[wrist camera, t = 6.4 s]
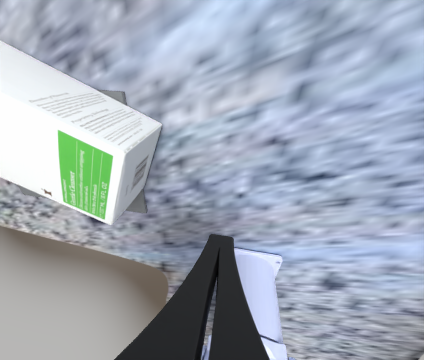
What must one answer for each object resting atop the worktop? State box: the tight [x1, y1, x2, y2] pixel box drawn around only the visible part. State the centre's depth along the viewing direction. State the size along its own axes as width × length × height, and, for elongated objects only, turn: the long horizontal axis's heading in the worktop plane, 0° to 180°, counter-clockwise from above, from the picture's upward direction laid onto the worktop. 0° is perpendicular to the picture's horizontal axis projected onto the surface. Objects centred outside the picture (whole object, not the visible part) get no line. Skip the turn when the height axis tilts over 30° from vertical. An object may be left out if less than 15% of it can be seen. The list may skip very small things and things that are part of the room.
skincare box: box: [0, 41, 162, 225], centre depth 15 cm, size 8×7×16 cm
